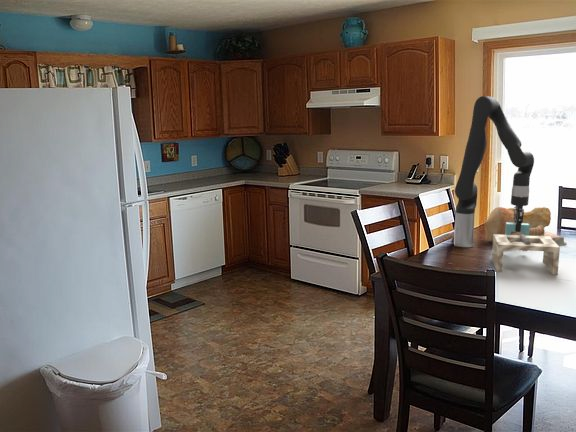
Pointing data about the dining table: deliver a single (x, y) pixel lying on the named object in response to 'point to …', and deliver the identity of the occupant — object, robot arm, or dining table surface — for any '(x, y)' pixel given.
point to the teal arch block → (512, 226)
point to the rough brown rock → (536, 217)
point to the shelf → (528, 244)
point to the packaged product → (556, 238)
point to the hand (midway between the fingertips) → (517, 230)
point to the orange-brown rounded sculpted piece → (498, 224)
